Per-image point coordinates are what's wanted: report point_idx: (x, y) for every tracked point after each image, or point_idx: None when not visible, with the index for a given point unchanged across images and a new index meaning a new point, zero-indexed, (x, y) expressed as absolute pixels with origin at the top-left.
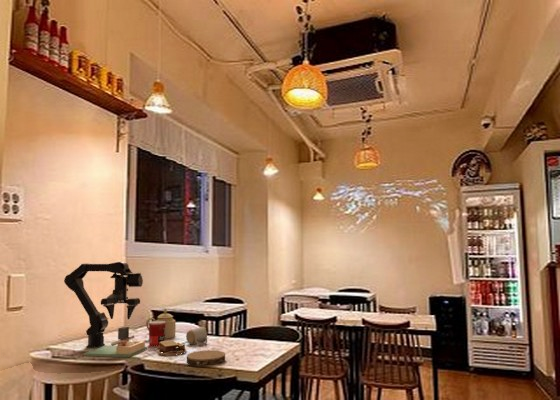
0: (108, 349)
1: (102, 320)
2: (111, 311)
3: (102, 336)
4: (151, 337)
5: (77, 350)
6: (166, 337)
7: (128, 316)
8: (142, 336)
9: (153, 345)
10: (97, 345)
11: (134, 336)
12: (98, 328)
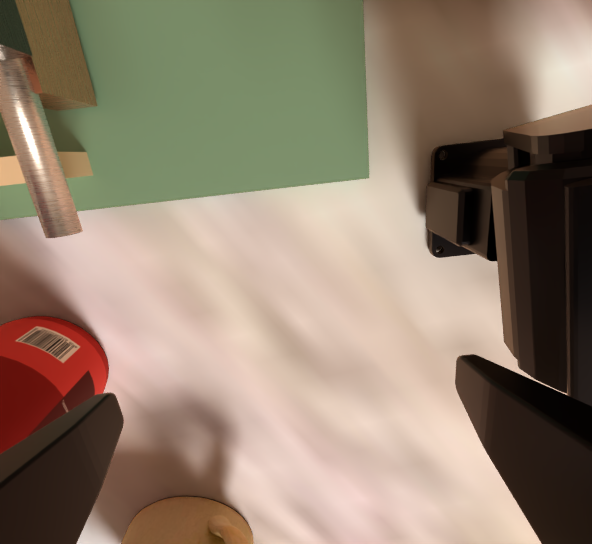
0: (229, 35)
1: (578, 197)
2: (587, 500)
3: (461, 226)
4: (1, 347)
5: (558, 7)
6: (140, 514)
7: (48, 428)
8: (337, 519)
9: (30, 317)
10: (452, 174)
11: (47, 234)
12: (528, 132)
